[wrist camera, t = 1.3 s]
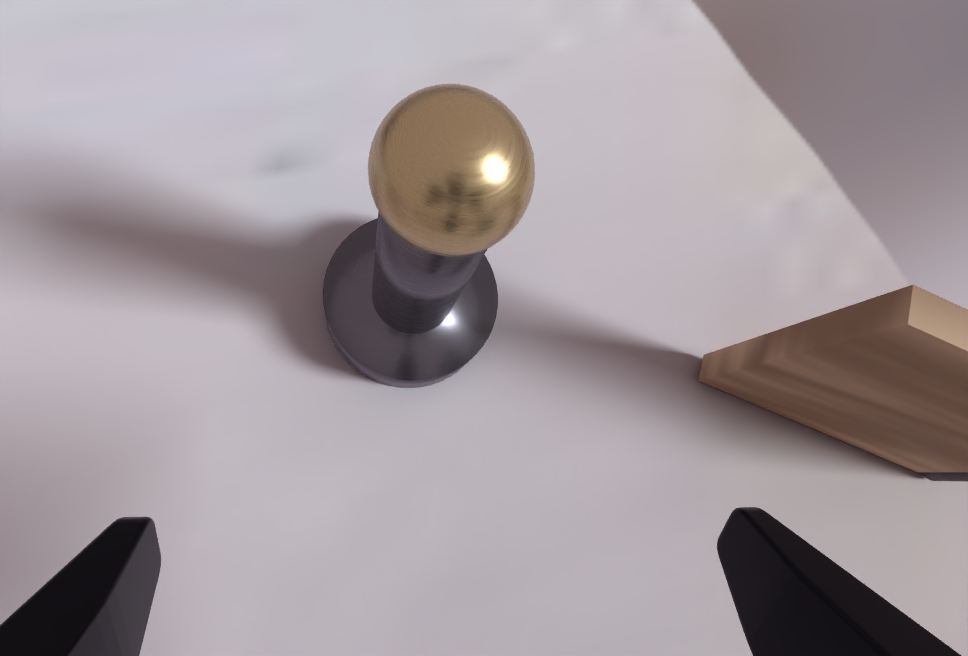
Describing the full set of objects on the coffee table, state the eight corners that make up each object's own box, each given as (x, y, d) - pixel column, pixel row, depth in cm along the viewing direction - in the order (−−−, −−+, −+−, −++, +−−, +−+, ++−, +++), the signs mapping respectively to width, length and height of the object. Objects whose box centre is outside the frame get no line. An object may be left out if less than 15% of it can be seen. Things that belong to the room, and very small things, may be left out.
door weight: (454, 412, 23) (570, 344, 10) (298, 351, 22) (224, 200, 10) (507, 269, 25) (658, 69, 12) (364, 209, 24) (373, -68, 12)
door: (943, 485, 26) (1275, 492, 17) (697, 382, 25) (907, 327, 15) (946, 455, 27) (1272, 446, 17) (704, 352, 25) (913, 281, 16)
